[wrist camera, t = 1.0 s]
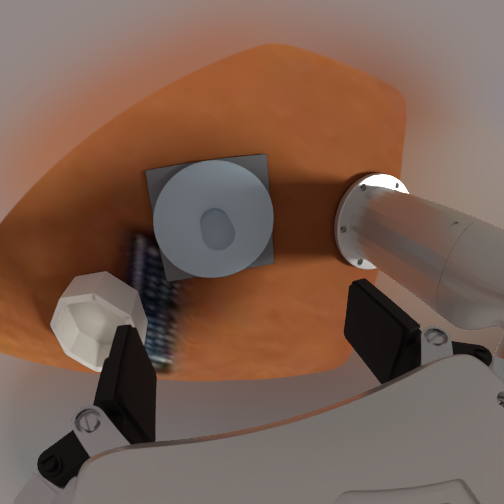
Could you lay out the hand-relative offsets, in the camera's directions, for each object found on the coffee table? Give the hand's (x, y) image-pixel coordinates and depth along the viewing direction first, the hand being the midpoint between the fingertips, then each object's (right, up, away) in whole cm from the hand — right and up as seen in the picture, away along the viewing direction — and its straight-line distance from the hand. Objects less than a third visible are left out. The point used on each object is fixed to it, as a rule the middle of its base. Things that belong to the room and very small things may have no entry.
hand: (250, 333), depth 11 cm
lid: (-4, +7, +16) cm, 18 cm away
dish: (-18, -4, +18) cm, 25 cm away
